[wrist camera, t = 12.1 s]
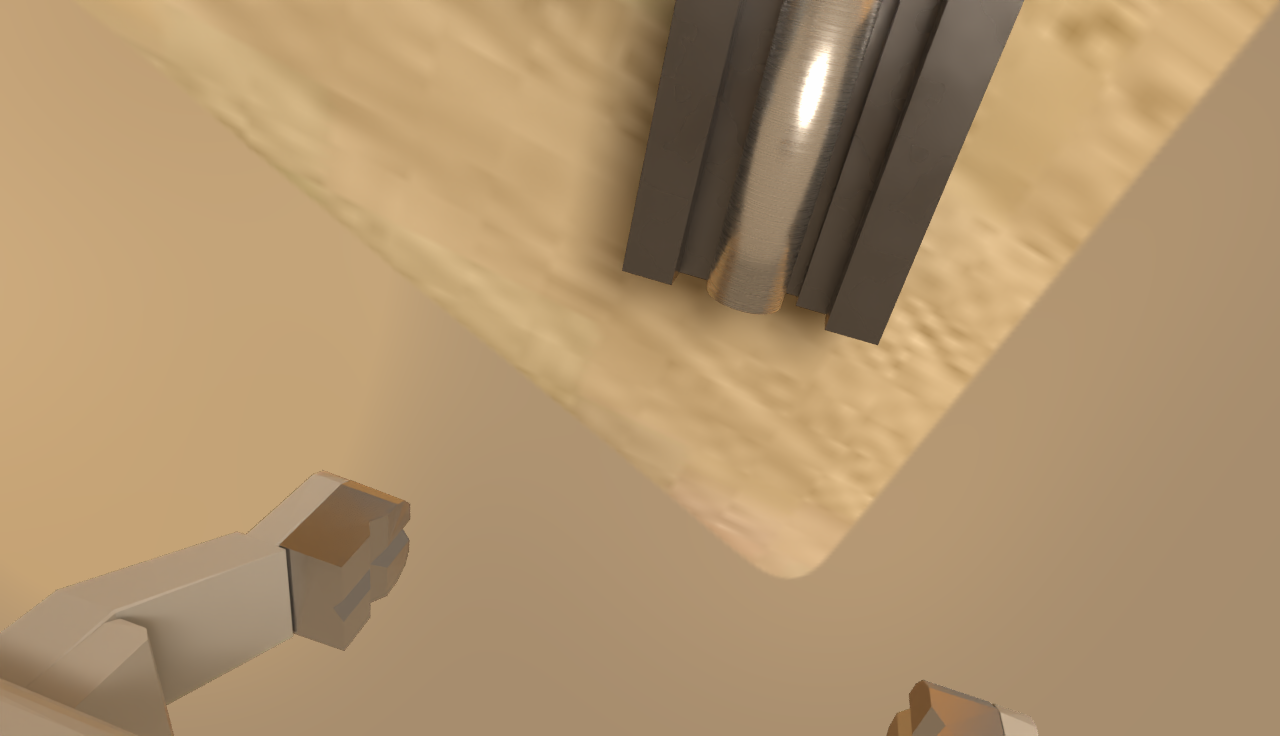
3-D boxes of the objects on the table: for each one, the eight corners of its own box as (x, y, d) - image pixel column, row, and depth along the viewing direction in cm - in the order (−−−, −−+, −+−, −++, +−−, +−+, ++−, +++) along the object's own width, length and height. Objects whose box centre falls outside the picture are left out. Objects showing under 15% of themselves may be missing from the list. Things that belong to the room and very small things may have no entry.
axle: (812, -60, 23) (790, -71, 21) (902, -42, 22) (891, -50, 20) (720, 272, 29) (695, 294, 27) (789, 296, 28) (769, 322, 26)
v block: (722, -77, 26) (694, -93, 21) (996, -15, 25) (1032, -18, 20) (655, 230, 32) (622, 270, 27) (872, 291, 31) (877, 345, 26)
